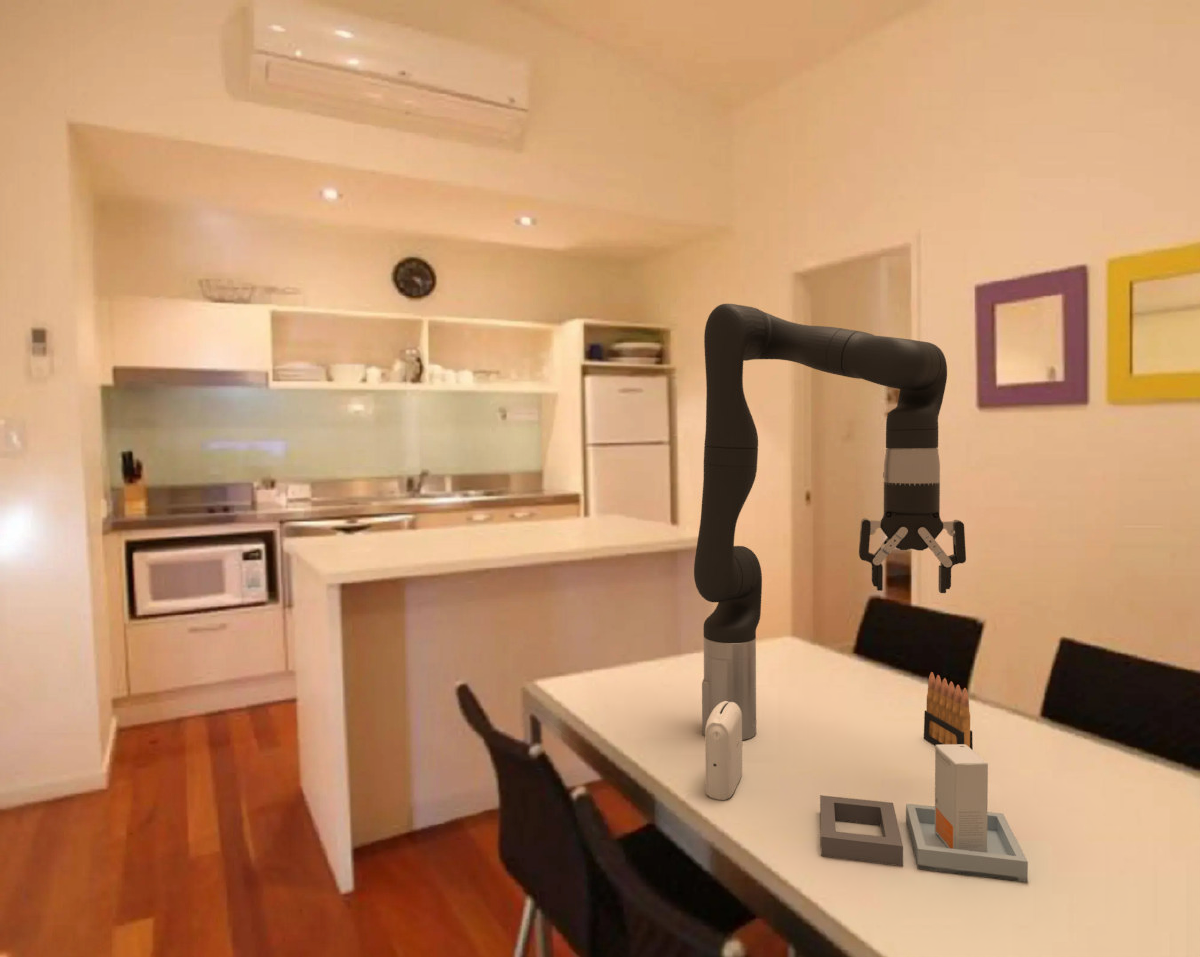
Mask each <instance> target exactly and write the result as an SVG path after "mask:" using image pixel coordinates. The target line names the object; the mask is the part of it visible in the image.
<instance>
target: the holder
mask: <svg viewBox="0 0 1200 957" xmlns="http://www.w3.org/2000/svg"><path fill="white" fill-rule="evenodd" d="M819 819H820V820H819V822H820V852H821V854H820V855H821V857H827V858H834V859H835V858H836V859H841V860H842V859H844V860H850V861H851V860H852V861H860V862H867V863H876V864H883V865H891V866H892V865H893V866H898V867H900V866H901V867H904V866H903V865H904V845H903V841H902V835H901V832H900V827H899V824H898V818H897V813H896V810H895V805H894V802H889V801H881V800H880V801H878V800H870V799H861V798H851V797H850V798H849V797H839V796H830V795H821V794H820V795H819ZM836 822H846V823H855V824H864V825H865V824H867V825H874V826H880V831H881V836H879V835H871V834H864V833H863V834H861V833H853V832H846V831H837V830H836V829H837V828H836V827H837V826H836Z"/></svg>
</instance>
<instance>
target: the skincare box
mask: <svg viewBox="0 0 1200 957" xmlns="http://www.w3.org/2000/svg"><path fill="white" fill-rule="evenodd" d="M934 747H935V748H934V749H935V750H934V752H935V753H934V754H935V755H934V756H935V758H934V759H935V760H934V763H935V764H934V767H935V768H934V780H935V781H934V806H935V833H936V834H937V835H938V836H939V838H940V839H941V840H942V841H943V842H944V844H945V845H946V846H947V847H948V848H951V849H959V850H968V851H977V852H985V853H987V812H988V809H989V808H988V806H989V805H988V801H989V800H988V795H989V794H988V792H989V791H988V789H989V788H988V787H989V786H988V783H989V782H988V781H989V780H988V779H989V771H988V770H989V768H988V767H989V764H988V762H987V761H985V759H983V758H982V757H981V756H980V755H979V753H977V752H976V751H974V750H972V749H971V748H969V747H968V746H967V745H965V744H943V745H935V746H934Z"/></svg>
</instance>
